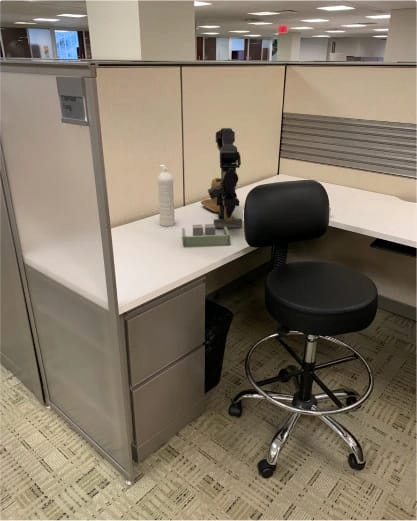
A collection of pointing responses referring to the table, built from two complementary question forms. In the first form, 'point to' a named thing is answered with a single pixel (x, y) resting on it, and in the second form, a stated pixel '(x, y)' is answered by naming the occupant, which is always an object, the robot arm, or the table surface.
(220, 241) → the bin
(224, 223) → the hoe
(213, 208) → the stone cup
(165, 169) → the white pump bottle
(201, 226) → the stone block
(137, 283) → the table surface
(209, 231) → the stone block
